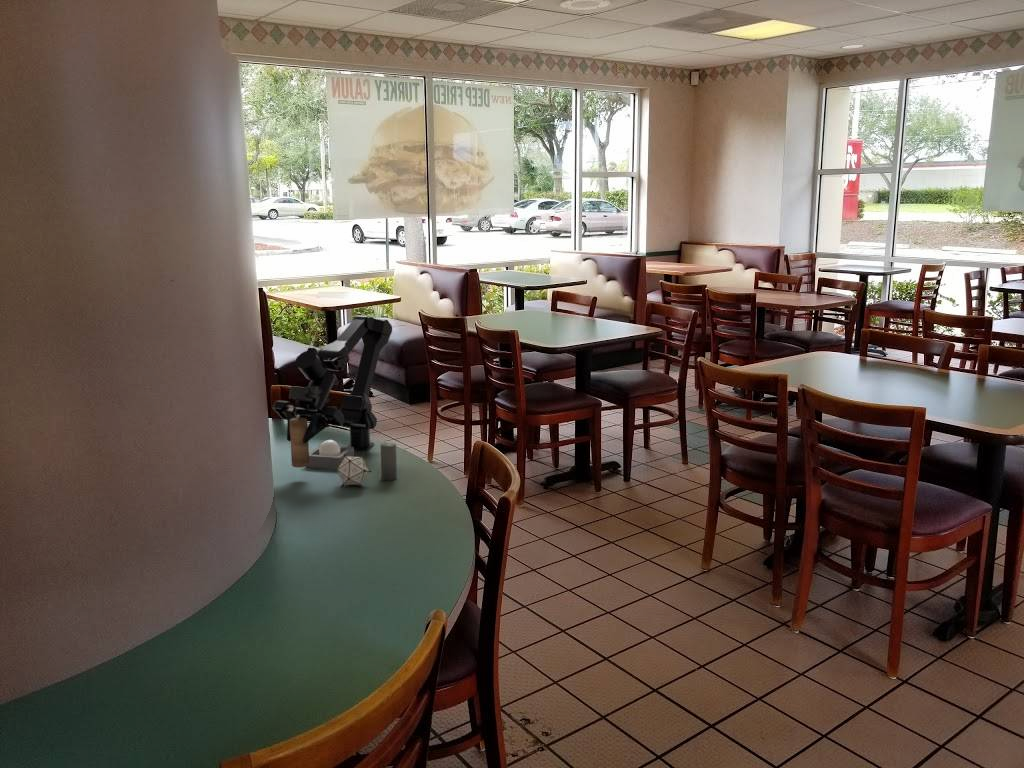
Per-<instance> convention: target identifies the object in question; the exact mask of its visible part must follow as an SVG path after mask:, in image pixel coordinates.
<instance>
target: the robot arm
mask: <svg viewBox="0 0 1024 768" xmlns="http://www.w3.org/2000/svg"><path fill="white" fill-rule="evenodd" d="M392 333H393V326H392V324H391V323H390V322H389V320H388V319H382V318H381V319H380V318H374V317H371V316H369V315H360V314H359V315H355V316H353V317H352V320H351V322H350V323H349V325H347V327H346V328H345V330H344V331H342V333H341V334H340V335H339V336H338V338H337V339H336V340H334V341H333V342H330V343H329V344H328V343H327V344H326V345H324V346H323V347H322V348H321V349H319V351H318V350H317V349H316V347H308V348H307V349H306V350H305V351H303V352H301V353H300V354H298V356H296V358H295V365H296V367H297V368H298V369H299V370H300V372H301V373H302V374H303V375H304V377H305V379H307V380H309V383H308V386H296V385H291V387H290V391H289V395H288V399H289V400H291V399H292V400H295V404H296V405H298V407H297V406H295V405H293V404H292V402H291V401H288V400H275V402H274V404H273V405H272V410H273V411H274V412H275V413H276V414H277V415H278V416H279V417H280V418H281V419H283V420H286V422H287V429H286V430H287V431H286V440H287V441H288V442H291V441H290V423H289V420H290V419H292V418H300V417H301V416H305V417H310V422H309V425H307V426H308V429H307V431H306V433H305V435H304V438H303V442H304V443H307V442H308V443H309V442H310V441H311V440H312V439H313V438H314V437H316V435H318V434H319V433H320V432H322V431H323V430H325V429H326V428H330V426H331V425H332V426H336V427H343V428H349V444H348V445H347V446H346V447H354V451H368V450H370V448H372V447H373V446H374V445H375V442H373V441H372V442H371V435H370V434H371V432H370V431H371V430H373V429H375V428H376V427H377V424H378V422H377V421H378V419H377V417H376V416H375V414H374V413H373V411H372V410H373V409H372V407H373V406H372V402H371V399H370V392H371V390H372V385H373V381H374V378H375V377H374V376H375V372H376V369H377V364H378V360H379V356H380V353H381V350H382V349H383V348H384V347H385V346H386V345H387V344H388V342H389V339H390V337H391V335H392ZM360 340H362V344H363V347H362V348H363V349H362V352H361V355H360V360H359V363H358V367H357V372H356V375H355V378H354V383H353V386H352V391H351V392H350V393H349V394H345V395H343V397H342V401H341V405H340V408H338V406H335V405H334V406H332V405H326V404H328V403H329V402H330V401H331V400H330V398H329V394H330V392H331V390H332V388H333V386H334V385H335V386H338V385H339V380H338V378H337V374H334V373H333V371H335V372H343V371H344V370H345V368H346V366H347V365H348V363H349V361H350V353H351V352H352V350H353V349H354V348H355V347H356V346H357V344H358V343H359V342H360ZM329 423H331V425H330V424H329Z"/></svg>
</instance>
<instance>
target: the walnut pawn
mask: <svg viewBox="0 0 1024 768" xmlns="http://www.w3.org/2000/svg"><path fill="white" fill-rule="evenodd" d="M289 423H290V441H289V442H290V454H291V455H290V456H291V466H292V467H293V468H307V467H306V466H308V465H309V452H310V451H309V450H310V449H309V448H310V447H309V441H308V442H307V443H304V442H303V438H304V435H305V433H306V431H307V429H308V426H309V425H308V418H306V417H299V418H292V419H290V420H289Z"/></svg>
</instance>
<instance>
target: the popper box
mask: <svg viewBox="0 0 1024 768" xmlns="http://www.w3.org/2000/svg"><path fill="white" fill-rule="evenodd" d="M320 446H321V444H319V445H318V446H316V447H315V448H313V449H312V450H311V451H309V465H308V466H306V467H305V468H316V469H317V468H319V469H330V470H334V469H338V467H339V465H340V464H341V462H342V461H343V459H344V458H345V456H344V454H346V456H355V450H354V447H347V446H345V445H343V446H341V445H339V447H340V455H339V456H326V455H319V448H320Z"/></svg>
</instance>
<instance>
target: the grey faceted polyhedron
mask: <svg viewBox="0 0 1024 768" xmlns="http://www.w3.org/2000/svg"><path fill="white" fill-rule="evenodd" d="M344 456H345V458H344V459H343V461H342V462H341V464H340V465H339V467H338V469H333V470H334V471H336V472H337V473H338V476H339V478H340V479H341V482H342V484H341V488H343V487H344V486H345V485H348V486H349V485H352V486H359V487H360V488H363V485H362V484H363V482H364V480H365V479H366V477H367V475H368V474H369V473H372V472H373V471H372V470H371V469H370V470H369V468H368V465H367V463H366V461H365V459H364V457H365V454H364V453H363V454H362V455H361V456H355V455H354V456H346V454H344Z"/></svg>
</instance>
